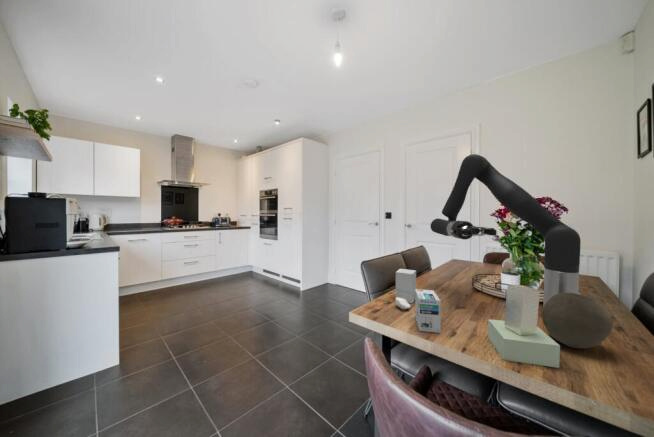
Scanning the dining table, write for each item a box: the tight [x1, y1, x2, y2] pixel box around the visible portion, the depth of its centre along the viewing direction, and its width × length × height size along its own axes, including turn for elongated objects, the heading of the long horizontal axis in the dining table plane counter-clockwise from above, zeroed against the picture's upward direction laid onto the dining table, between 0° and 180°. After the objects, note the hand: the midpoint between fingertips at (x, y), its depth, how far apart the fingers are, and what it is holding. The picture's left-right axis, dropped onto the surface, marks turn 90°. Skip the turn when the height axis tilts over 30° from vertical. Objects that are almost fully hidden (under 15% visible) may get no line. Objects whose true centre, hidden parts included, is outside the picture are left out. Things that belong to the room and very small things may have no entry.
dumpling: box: [394, 297, 412, 310], centre depth 99 cm, size 7×5×4 cm
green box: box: [487, 319, 561, 369], centre depth 69 cm, size 12×12×6 cm
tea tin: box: [504, 284, 541, 335], centre depth 69 cm, size 5×5×12 cm
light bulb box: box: [414, 288, 442, 334], centre depth 85 cm, size 11×7×11 cm, turn 168°
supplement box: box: [395, 268, 417, 304], centre depth 109 cm, size 7×7×13 cm
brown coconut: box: [541, 292, 614, 350], centre depth 72 cm, size 14×14×15 cm
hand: (483, 232), depth 89 cm, fingers open, 8 cm apart
